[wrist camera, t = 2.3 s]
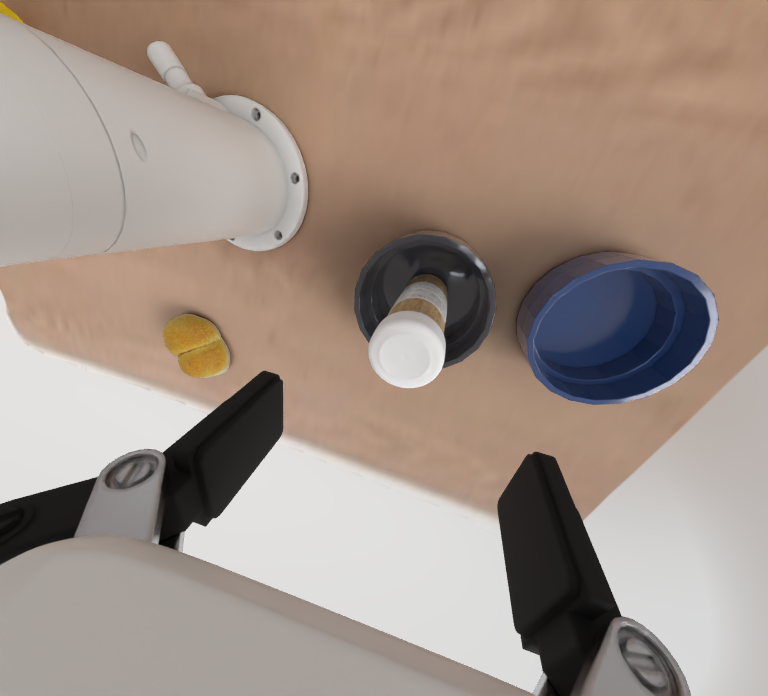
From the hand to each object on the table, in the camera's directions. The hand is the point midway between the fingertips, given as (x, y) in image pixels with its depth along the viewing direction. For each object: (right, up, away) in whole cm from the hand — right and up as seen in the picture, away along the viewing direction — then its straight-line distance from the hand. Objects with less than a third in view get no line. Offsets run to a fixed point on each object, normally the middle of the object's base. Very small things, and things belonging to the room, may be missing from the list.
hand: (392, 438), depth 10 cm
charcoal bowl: (+4, +9, +17) cm, 20 cm away
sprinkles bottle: (+4, +9, +17) cm, 20 cm away
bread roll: (-25, +4, +28) cm, 37 cm away
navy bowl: (+19, +6, +15) cm, 25 cm away
